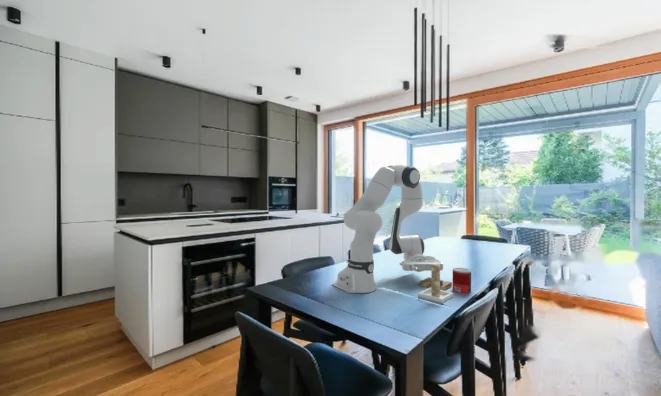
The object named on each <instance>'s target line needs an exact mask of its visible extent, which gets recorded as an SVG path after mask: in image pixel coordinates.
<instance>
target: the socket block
mask: <svg viewBox="0 0 661 396" xmlns="http://www.w3.org/2000/svg"><path fill="white" fill-rule="evenodd" d="M418 285H419V286H420V287H424V288H427V289H428V288H431V277H426V278H424V279H421V280H419V283H418ZM451 287H452V288H453V281H447V280H443V279H440V290H443V291H446V290H447V289H449V288H451Z"/></svg>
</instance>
